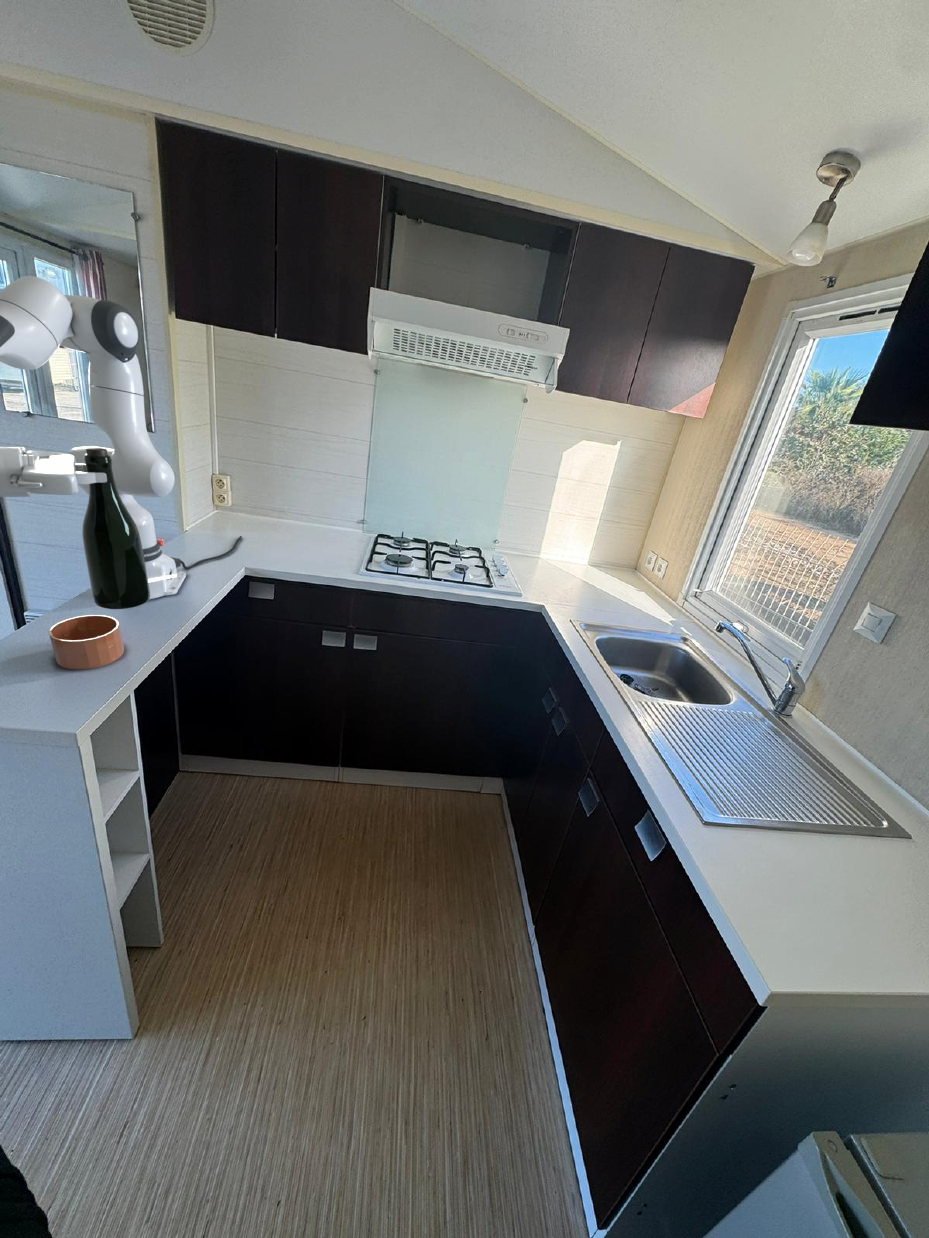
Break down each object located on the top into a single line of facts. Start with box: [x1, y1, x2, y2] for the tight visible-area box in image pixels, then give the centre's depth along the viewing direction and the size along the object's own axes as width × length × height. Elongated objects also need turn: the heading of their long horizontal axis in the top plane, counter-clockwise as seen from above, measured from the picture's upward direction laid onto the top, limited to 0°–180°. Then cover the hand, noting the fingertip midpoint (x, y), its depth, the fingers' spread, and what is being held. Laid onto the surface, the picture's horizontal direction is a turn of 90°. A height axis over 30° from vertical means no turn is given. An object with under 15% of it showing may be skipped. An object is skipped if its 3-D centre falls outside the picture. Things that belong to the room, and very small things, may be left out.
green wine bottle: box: [81, 446, 151, 611], centre depth 101 cm, size 10×10×33 cm
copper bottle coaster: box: [48, 614, 125, 671], centre depth 107 cm, size 12×12×7 cm
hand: (106, 474), depth 97 cm, fingers closed on green wine bottle, 4 cm apart
